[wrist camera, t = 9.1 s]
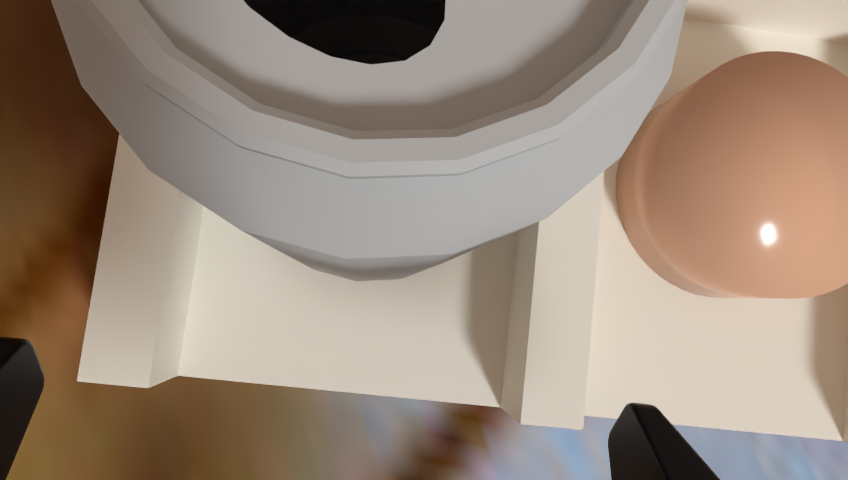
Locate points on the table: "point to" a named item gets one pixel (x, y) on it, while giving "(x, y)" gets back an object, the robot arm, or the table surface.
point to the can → (375, 112)
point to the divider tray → (484, 298)
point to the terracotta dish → (744, 181)
